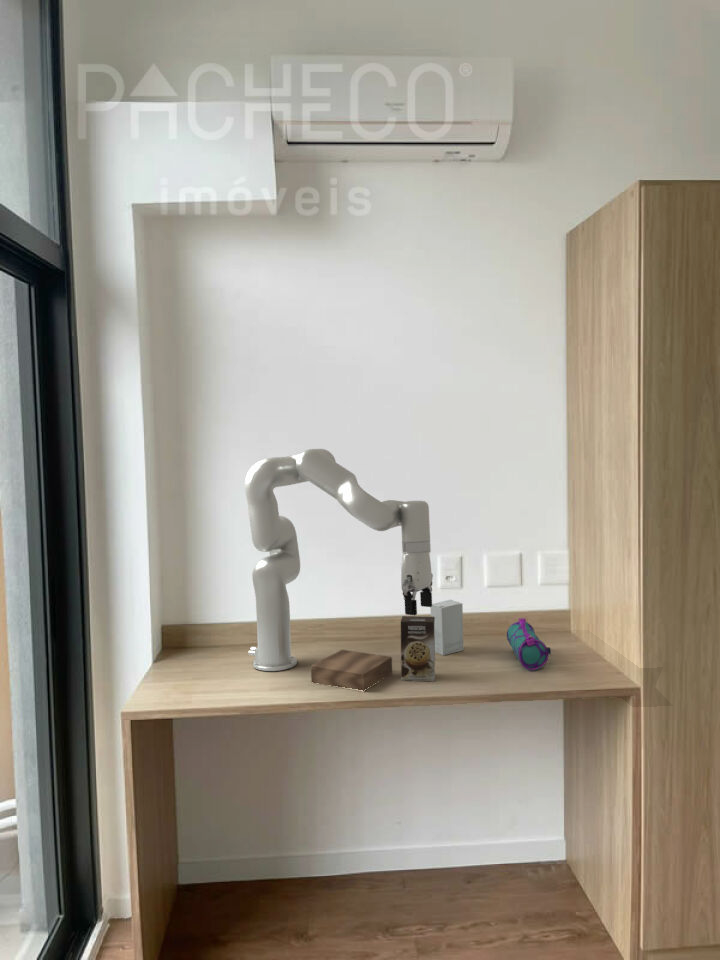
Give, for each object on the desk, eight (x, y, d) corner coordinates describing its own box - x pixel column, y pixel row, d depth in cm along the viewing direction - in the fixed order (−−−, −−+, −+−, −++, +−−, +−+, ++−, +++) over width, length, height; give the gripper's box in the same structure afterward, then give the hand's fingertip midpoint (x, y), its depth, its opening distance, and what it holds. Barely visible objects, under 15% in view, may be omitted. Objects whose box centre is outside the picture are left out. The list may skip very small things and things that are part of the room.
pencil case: (551, 671, 192) (550, 637, 192) (518, 672, 193) (518, 637, 192) (535, 649, 213) (534, 617, 213) (505, 649, 214) (505, 618, 213)
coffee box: (400, 681, 188) (399, 621, 187) (402, 673, 194) (401, 615, 193) (435, 681, 187) (433, 621, 186) (435, 673, 193) (434, 615, 192)
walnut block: (311, 684, 188) (311, 665, 188) (342, 666, 202) (341, 649, 202) (363, 693, 181) (363, 674, 180) (392, 674, 194) (391, 656, 194)
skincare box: (451, 646, 218) (451, 599, 217) (464, 651, 213) (463, 602, 212) (430, 651, 213) (429, 602, 213) (442, 656, 208) (441, 606, 207)
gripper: (417, 542, 198) (419, 602, 199) (389, 551, 183) (391, 616, 184) (442, 542, 194) (444, 604, 195) (415, 552, 179) (418, 619, 180)
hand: (418, 610), depth 189 cm, fingers open, 9 cm apart
